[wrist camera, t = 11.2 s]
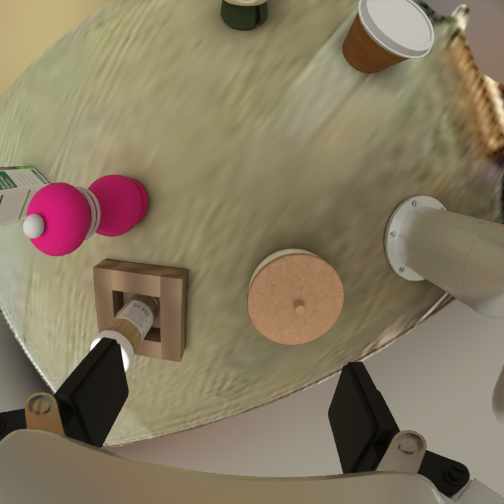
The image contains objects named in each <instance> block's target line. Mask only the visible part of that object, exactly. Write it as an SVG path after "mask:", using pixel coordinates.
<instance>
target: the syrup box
mask: <svg viewBox="0 0 504 504" xmlns="http://www.w3.org/2000/svg"><path fill="white" fill-rule="evenodd" d="M49 184H50V183H48V182H47V181H46V180H45V178H44V177H43V176H42V175H41V174H40V173H39V172H38V171H37V170H36V169H35V168H34V167H33V166H16V167H0V226H3V225H7V224H10V223H13V222H17V221H20V220H24V219H26V213H27V208H28V205H29V203H30V201H31V199H32V198H33V196H34V195H35V194H36V192H38V191H39V190H40V189H41V188H43V187H45V186H46V185H49Z"/></svg>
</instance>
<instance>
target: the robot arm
mask: <svg viewBox="0 0 504 504" xmlns="http://www.w3.org/2000/svg"><path fill="white" fill-rule="evenodd" d="M390 233H391V235H390ZM384 246H385V254H386V257H387V260H388V262H389V265H390V266H391V268H392V269H393V270H394V272H396V273H397V274H398V275H399V276H401V277H403V278H404V279H407V280H410V281H421V280H424V279H427V280H428V281H430V282H431V283H433V284H435V285H436V286H438V287H439V288H441V289H443V290H444V291H446V292H447V293H449V294H450V295H452V296H454V297H455V298H457V299H458V300H460V301H461V302H463V303H464V304H466V305H467V306H469V307H471V308H472V309H474V310H475V311H477V312H478V313H480V314H482V315H484V316H487V317H493V318H495V317H502V316H504V225H503V224H499V223H495V222H491V221H488V220H484V219H480V218H476V217H471V216H467V215H463V214H459V213H454V212H450V211H447V210H446V208H445V207H444V206H443V205H442V203H441V202H439V201H438V200H437V199H435V198H432V197H430V196H425V195H417V196H413V197H410V198H408V199H406V200H404V201H403V202H402V203H401V204H400V205H399V206H398V207H397V208H396V209H395V210H394V212H393V214H392V215H391V217H390V219H389V222H388V224H387V227H386V232H385V239H384ZM128 393H129V390H128V385H127V380H126V374H125V369H124V363H123V357H122V351H121V345H120V344H119V343H117V341H116V340H115V339H112V338H107V337H103V338H102V339H101V340H100V341H99V342H98V343H97V344H96V345H95V347H94V348H93V349H92V350H91V351H90V352H89V353H88V355H87V356H86V357H85V358H84V359H83V360H82V362H81V363H80V364H79V365H78V366H77V367H76V369H75V370H74V371H73V372H72V373H71V375H70V376H69V377H68V378H67V379H66V381H65V382H64V383H63V384H62V385H61V387H60V388H59V389H58V390H57V392H56V393H55V394H54V396H52V395H50V394H48V393H36V394H33V395H31V396H30V397H29V398H28V399H27V400H26V402H25V408H24V409H19V410H14V411H8V412H2V413H0V504H504V498H503V497H502V496H501V495H499V494H498V493H496V492H494V491H493V490H492V489H490V488H489V487H487V486H485V485H484V484H483V483H481V482H480V481H478V480H477V479H475V478H474V479H473V480H471V479H469V477H470V474H469V471H468V469H467V467H466V466H464V465H463V464H462V463H459V462H456V461H454V460H451V459H448V458H446V457H443V456H440V455H438V454H435V453H433V452H430V451H428V450H426V448H427V444H426V440H425V439H424V438H423V436H421V435H420V434H418V433H417V432H414V431H410V430H407V431H401V432H400V430H399V428H398V426H397V424H396V422H395V420H394V418H393V416H392V414H391V412H390V410H389V408H388V406H387V405H386V402H385V400H384V398H383V396H382V395H381V393H380V392H379V391H378V390H377V389H376V387H375V385H374V383H373V381H372V379H371V377H370V375H369V373H368V372H367V370H366V368H365V366H364V364H363V363H362V362H348V364H347V365H344V366H343V368H342V372H341V375H340V378H339V381H338V385H337V387H336V390H335V393H334V396H333V399H332V402H331V405H330V408H329V411H328V417H329V421H330V425H331V428H332V432H333V436H334V440H335V443H336V447H337V451H338V455H339V459H340V463H341V467H342V470H343V474H339V475H327V476H310V477H253V476H236V475H224V474H215V473H208V472H200V471H193V470H187V469H181V468H176V467H170V466H165V465H161V464H156V463H152V462H148V461H144V460H139V459H135V458H132V457H128V456H125V455H121V454H118V453H115V452H111V451H108V450H105V449H101V447H102V445H103V443H104V441H105V439H106V437H107V435H108V434H109V432H110V430H111V428H112V426H113V424H114V422H115V420H116V418H117V416H118V414H119V412H120V410H121V409H122V407H123V405H124V403H125V401H126V399H127V397H128ZM492 409H493V413H494V415H495V417H496V419H497V421H498V422H499V423H500V424H501V425H502V426H503V427H504V365H503V368H502V370H501V373H500V375H499V377H498V380H497V382H496V385H495V388H494V391H493V396H492Z"/></svg>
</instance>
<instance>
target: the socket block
mask: <svg viewBox="0 0 504 504" xmlns="http://www.w3.org/2000/svg"><path fill="white" fill-rule="evenodd" d="M93 272H94V288H95V301H96V311H97V320H98V328H99V333H100V332H102V331H104V330H105V329H106V327H107V326H108V325H109V324H110V322H111V321H112V320H113V319H114V318H115V317H116V315H117V313H118V312H119V311H120V310H121V309H122V308H123V307H124V305H125V304H127V303H128V302H129V301H130V299H131V298H132V296H133V295H134V294H140V295H147V296H154V297H155V298H156V299H157V300H158V303H159V306H160V312H159V315H158V316H157V318H155V320H154V322H153V324H152V326H151V327H150V329H149V331H148V333H147V334H146V336H145V338H144V339H143V341H142V343H141V345H140V346H139V347H138V349H137V350H136V352H135V354H137V355H142V356H147V357H153V358H159V359H165V360H171V361H177V362H181V359H182V356H183V353H184V350H185V347H186V307H187V283H188V269H182V268H174V267H166V266H157V265H149V264H141V263H134V262H126V261H118V260H111V259H105V260H104V261H102V262H100V263H99V264H97V265H96V266H94V267H93Z"/></svg>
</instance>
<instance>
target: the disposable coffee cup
mask: <svg viewBox="0 0 504 504" xmlns="http://www.w3.org/2000/svg"><path fill="white" fill-rule="evenodd" d="M433 42H434V31H433V27H432V25H431V22H430V21H429V19H428V17H427V16H426V14H425V13H424V12H423V11H422V9H421V8H420V7H419V6H418V5H416V4H415V3H414V2H413V1H411V0H360V1H359V4H358V13H357V16H356V18H355V20H354V22H353V24H352V26H351V28H350V31H349V33H348V35H347V37H346V40H345V42H344V44H343V54H344V56H345V58H346V60H347V61H348V62H349V64H350V65H352V66H353V67H354V68H356V69H357V70H359V71H361V72H364V73H374V72H377V71H379V70H382V69H384V68H387V67H389V66H391V65H394V64H397V63H399V62H402V61H404V60H407V59H410V58H413V59H416V58H421V57H424V56H425V55H427V54H428V53H429V51H430V49H431V46H432V44H433Z"/></svg>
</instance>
